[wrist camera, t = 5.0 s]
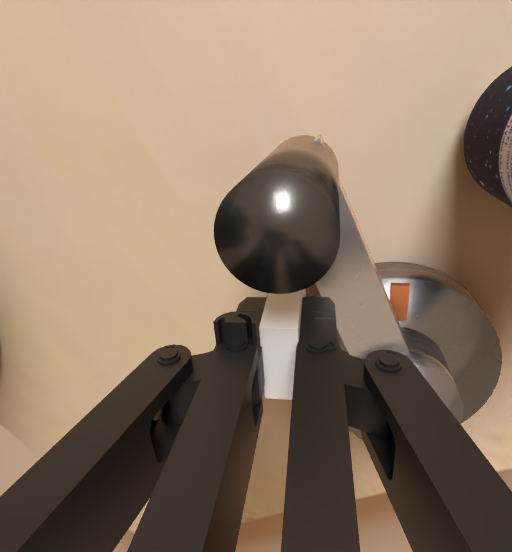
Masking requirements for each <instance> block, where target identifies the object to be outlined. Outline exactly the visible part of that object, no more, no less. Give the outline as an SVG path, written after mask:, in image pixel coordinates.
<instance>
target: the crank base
mask: <svg viewBox="0 0 512 552" xmlns="http://www.w3.org/2000/svg"><path fill="white" fill-rule="evenodd" d="M375 266H376V269H377V271H378V273H379V276H380V278H381V281H382V283H383V286H384V288H385V290H386V293H387V295H388V298H389V300H390V302H391V305H392V307H393V310H394V312H395V314H396V317H397V319H398V322H399V324H400V327H405V328H410V329H413V330H416V331H419V332H421V333H423V334H425V335H426V336H428V337H429V338H431V339H432V340H433V341H434V342H435V343H436V344H437V345H438V346H439V348H440V349H441V351H442V353H443V355H444V357H445V360H446V362H447V365H448V367H449V369H450V372H451V374H452V377H453V379H454V382H455V384H456V387H457V389H458V391H459V394H460V396H461V399H462V402H463V417H462V421H461V423H462V422H464V421H465V420H467V419H468V418H470V417H471V416H472V415H473V414H475V413H476V412H477V411H478V410H479V409H480V408H481V407H482V406H483V405H484V404H485V402H486V401H487V400H488V398H489V397H490V396H491V394H492V392H493V390H494V388H495V387H496V385H497V382H498V379H499V376H500V371H501V364H502V355H501V347H500V343H499V339H498V337H497V334H496V332H495V329H494V328H493V326H492V324H491V323H490V321H489V320H488V318H487V317H486V315H485V314H484V312H483V311H482V309H481V308H480V306H479V305H478V303H477V302H476V300H475V299H474V298H473V296H472V295H471V294H470V293H469V292H468V291H467V290H466V289H465V288H464V287H463V286H462V285H461V284H459V283H458V282H457V281H455V280H454V279H452V278H451V277H449V276H447V275H446V274H444V273H441V272H439V271H437V270H435V269H432V268H429V267H425V266H422V265H417V264H412V263H403V262H384V263H376V264H375ZM314 297H322V296H321V294H320V292H318V293H317V294H316V295H315V296H314ZM337 339H338V343H339V345H340V348H341V349H342V350H343V351H344V352H346V351H347V349H346V347H345V345H344V343H343V341H342V338H341V336H340V334H339V332H338V330H337ZM348 430H349V431H351V432H353V431H352V430H351V429H350V427H349V426H348Z"/></svg>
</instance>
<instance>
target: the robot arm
mask: <svg viewBox="0 0 512 552" xmlns="http://www.w3.org/2000/svg"><path fill="white" fill-rule="evenodd" d="M213 323H214V330H215V337H216V346H215V349H214V350H213V351H211V352H208V353H204V354H198V355H193V356H191V352H190V350H189V349H188V348H187V347H184V346H182V345H168V346H164V347H162V348H159V349H157V350H156V351H154V352H153V353H152V354H150V355H149V356H148V357H147V358H146V359H145V360H144V361H143V362H142V363H141V364H140V365H139V366H138V367H137V368H136V369H135V370H134V371H133V372H131V373H130V374H129V375H128V376H127V377H126V378H125V379H124V380H123V381H122V382H121V383H120V384H119V385H118V386H117V387H116V388H115V389H113V390H112V391H111V392H110V393H109V394H108V395H107V396H106V397H105V398H104V399H103V400H102V401H101V402H100V403H99V404H98V405H97V406H96V407H94V408H93V409H92V410H91V411H90V412H89V413H88V414H87V415H86V416H85V417H84V418H83V419H82V420H81V421H80V422H79V423H78V424H76V425H75V426H74V427H73V428H72V429H71V430H70V431H69V432H68V433H67V434H66V435H65V436H64V437H63V438H62V439H61V440H60V441H59V442H57V443H56V444H55V445H54V446H53V447H52V448H51V449H50V450H49V451H48V452H47V453H46V454H45V455H44V456H43V457H42V458H41V459H40V460H38V462H36V463H35V464H34V465H33V466H32V467H31V468H30V469H29V470H28V471H27V472H26V473H25V474H24V475H23V476H22V477H20V479H18V480H17V481H16V482H15V483H14V484H13V485H12V486H11V487H10V488H9V489H8V490H7V491H6V492H5V493H4V494H3V495H2V496H1V497H0V552H112V551H113V550H114V549H115V547H116V546H117V544H118V543H119V541H120V540H121V539H122V537H123V536H124V534H125V533H126V531H127V530H128V529H129V527H130V526H131V524H132V523H133V521H134V520H135V519H136V517H137V516H138V514H139V513H140V511H141V510H142V508H143V507H144V506H145V504H146V503H147V501H148V500H149V498H150V500H149V502H148V504H147V507H146V509H145V511H144V514H143V516H142V518H141V521H140V523H139V525H138V527H137V530H136V532H135V534H134V537H133V539H132V541H131V544H130V546H129V548H128V551H127V552H235V549H236V544H237V539H238V534H239V529H240V524H241V519H242V514H243V509H244V504H245V498H246V493H247V488H248V483H249V478H250V473H251V468H252V463H253V458H254V453H255V448H256V443H257V438H258V433H259V428H260V423H261V418H262V413H263V404H262V395H263V390H264V396H265V398H271V399H286V400H292V411H291V424H290V437H289V451H288V464H287V477H286V491H285V504H284V518H283V531H282V544H281V552H360V545H359V534H358V524H357V514H356V504H355V493H354V483H353V472H352V462H351V452H350V441H349V431H348V426H350V427H353V428H356V429H359V430H360V431H361V436H362V438H363V441H364V443H365V445H366V447H367V450H368V452H369V454H370V456H371V459H372V461H373V463H374V465H375V468H376V470H377V472H378V474H379V477H380V479H381V481H382V483H383V486H384V488H385V490H386V492H387V495H388V497H389V499H390V501H391V504H392V505H393V508H394V510H395V513H396V515H397V517H398V519H399V521H400V524H401V526H402V528H403V530H404V533H405V535H406V537H407V539H408V541H409V544H410V546H411V548H412V550H413V552H512V492H511V490H510V489H509V488H508V486H507V485H506V484H505V482H504V481H503V480H502V479H501V477H500V476H499V475H498V473H497V472H496V471H495V469H494V468H493V467H492V465H491V464H490V463H489V461H488V460H487V459H486V457H485V456H484V455H483V454H482V452H481V451H480V450H479V448H478V447H477V446H476V444H475V443H474V442H473V440H472V439H471V438H470V436H469V435H468V434H467V433H466V431H465V430H464V429H463V427H462V426H461V425H460V423H459V422H458V421H457V419H456V418H455V417H454V416H453V414H452V413H451V412H450V410H449V409H448V408H447V406H446V405H445V404H444V402H443V401H442V400H441V399H440V397H439V396H438V395H437V393H436V392H435V391H434V389H433V388H432V387H431V385H430V384H429V383H428V381H427V380H426V379H425V378H424V376H423V375H422V374H421V372H420V371H419V370H418V368H417V367H416V366H415V364H414V363H413V362H412V361H411V360H410V359H409V358H408V357H407V356H406V355H403V354H401V353H399V352H396V351H392V350H377V351H373V352H371V353H370V354H368V355H367V356H366V358H365V359H361V358H357V357H354V356H351V355H349V354H347V353H346V352H344V351H343V350H342V349H341V348H340V345H339V343H338V339H337V325H336V311H335V303H334V302H333V301H332V300H331V299H330V298H329V297H306V288H305V289H303V290H301V291H297V292H294V293H287V294H272V293H268V295H267V297H247V298H246V299H244V300H243V301H242V302H241V303H240V304H239V306H238V309H237V312H229V313H226V314H223V315H221V316H219V317H217V318H216V319H215V321H214V322H213Z"/></svg>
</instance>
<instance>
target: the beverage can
mask: <svg viewBox="0 0 512 552" xmlns="http://www.w3.org/2000/svg"><path fill="white" fill-rule="evenodd" d="M464 155H465V160H466V164H467V167H468V169H469V171H470V173H471V175H472V176H473V178H474V179H475V181H476V182H477V183H478V184H479V185H480V186H481V187H482V188H483V189H485V190H486V191H487V192H489V193H490V194H492V195H493V196H495V197H496V198H498V199H500V200H501V201H503V202H504V203H506V204H507V205H509V206H510V207H512V67H510V68H509V69H507V70H506V71H505V72H504V73H502V74H501V75H500V76H499V77H498V78H496V79H495V80H494V81H493V82H492V83H491V84H490V86H489V87H488V88H487V89H486V90H485V91H484V93H483V94H482V95H481V97H480V98H479V100H478V101H477V103H476V105H475V106H474V108H473V110H472V112H471V115H470V117H469V120H468V122H467V126H466V130H465V135H464Z"/></svg>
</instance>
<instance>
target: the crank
mask: <svg viewBox="0 0 512 552" xmlns="http://www.w3.org/2000/svg"><path fill="white" fill-rule="evenodd" d="M214 239H215V244H216V248H217V251H218V254H219V256H220V258H221V260H222V262H223V263H224V265H225V266H226V268H227V269H228V270H229V271H230V272H231V273H232V274H233V275H234V276H235V277H236V278H237V279H238V280H240V281H241V282H242V283H244V284H246V285H247V286H249V287H251V288H253V289H256V290H259V291H262V292H266V293H272V294H287V293H294V292H297V291H301V290H303V289H305V288H308V287H310V286H311V285H313V284H316V286H317V288H318V290H319V292H320V294H321V296H322V297H329V298H330V299H331V300H332V301H333V302H334V303H335V311H336V325H337V330H338V332H339V334H340V336H341V338H342V341H343V343H344V345H345V347H346V349H347V351H346V353H347V354H349V355H351V356H354V357H357V358H361V359H365V358H366V356H367V355H368V354H370V353H371V352H373V351H377V350H392V351H396V352H399V353H401V354H403V355H406V356H407V357H408V358H409V359H410V360H411V361H412V362H413V363H414V364H415V366H416V367H417V368H418V370H419V371H420V372H421V374H422V375H423V376H424V378H425V379H426V380H427V381H428V383H429V384H430V385H431V387H432V388H433V389H434V391H435V392H436V393H437V395H438V396H439V397H440V399H441V400H442V401H443V402H444V404H445V405H446V406H447V408H448V409H449V410H450V412H451V413H452V414H453V416H454V417H455V418H456V419H457V421H458V422H459V423H461V421H462V417H463V402H462V399H461V396H460V394H459V391H458V389H457V387H456V384H455V382H454V379H453V377H452V374H451V372H450V369H449V367H448V365H447V362H446V360H445V357H444V355H443V353H442V351H441V349H440V348H439V346H438V345H437V344H436V343H435V342H434V341H433V340H432V339H431V338H429V337H428V336H426V335H425V334H423V333H421V332H419V331H416V330H413V329H410V328H405V327H400V324H399V322H398V319H397V317H396V314H395V312H394V310H393V307H392V305H391V302H390V300H389V298H388V295H387V293H386V290H385V288H384V286H383V283H382V281H381V278H380V276H379V273H378V271H377V269H376V266H375V264H374V261H373V259H372V257H371V254H370V252H369V249H368V247H367V245H366V242H365V240H364V237H363V235H362V232H361V230H360V228H359V225H358V223H357V220H356V218H355V216H354V213H353V211H352V208H351V206H350V203H349V201H348V199H347V196H346V194H345V191H344V189H343V187H342V184H341V182H340V179H339V176H338V163H337V159H336V156H335V154H334V152H333V151H332V149H331V148H330V147H329V146H328V145H327V144H326V143H325V142H324V141H323V138H322V136H321V135H319V136H317V137H312V136H307V135H302V136H296V137H292V138H290V139H288V140H286V141H284V142H283V143H282V144H281V145H279V146H278V147H277V148H276V149H275V150H274V151H273V152H272V153H271V154H270V155H269V156H267V157H266V158H265V159H264V160H263V161H262V162H261V163H260V164H259V165H258V166H257V167H256V168H254V169H253V170H252V171H251V172H250V173H249V174H248V175H247V176H246V177H245V178H244V179H242V180H241V181H240V182H239V183H238V184H237V185H236V186H235V187H234V188H233V189H232V190H231V191H230V192H229V193H228V194H227V195H226V197H225V198H224V199H223V201H222V203H221V205H220V206H219V209H218V211H217V214H216V218H215V223H214ZM349 427H350V426H349ZM350 429H351V430H352V431H353V433H354V434H355V435H356V436H357V437H359V438H360V439H361V440H363V438H362V436H361V431H360V430H359V429H356V428H353V427H350Z"/></svg>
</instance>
